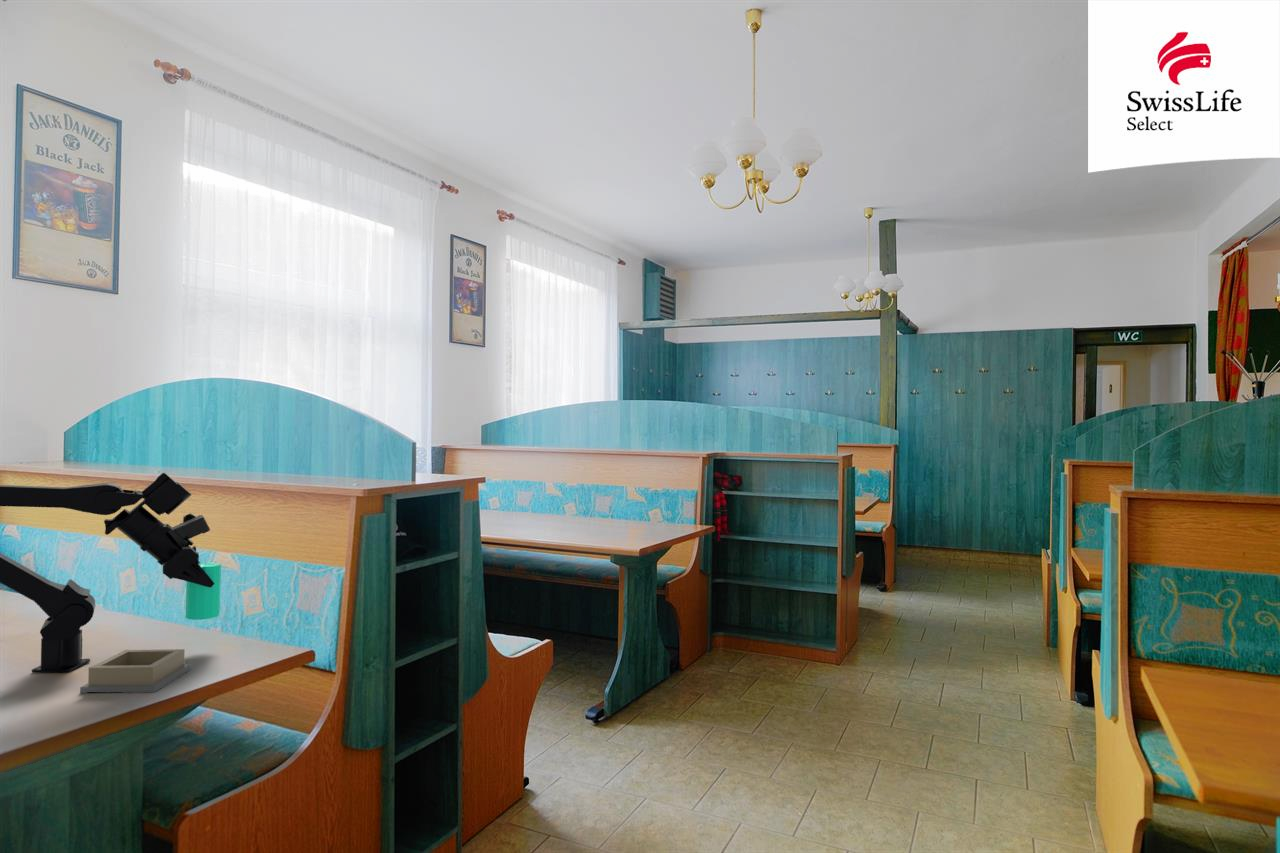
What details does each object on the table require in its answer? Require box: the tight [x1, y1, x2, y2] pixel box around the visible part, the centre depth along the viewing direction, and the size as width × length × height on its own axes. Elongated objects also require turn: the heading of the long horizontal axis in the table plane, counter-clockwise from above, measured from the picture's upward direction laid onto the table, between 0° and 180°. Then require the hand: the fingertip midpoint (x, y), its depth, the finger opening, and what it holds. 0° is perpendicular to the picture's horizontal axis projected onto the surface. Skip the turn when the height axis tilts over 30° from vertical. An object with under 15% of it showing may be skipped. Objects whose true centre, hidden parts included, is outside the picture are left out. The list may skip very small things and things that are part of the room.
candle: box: [185, 557, 222, 621], centre depth 151 cm, size 6×6×12 cm
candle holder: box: [79, 648, 192, 694], centre depth 132 cm, size 12×12×4 cm
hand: (211, 583), depth 152 cm, fingers closed on candle, 5 cm apart
